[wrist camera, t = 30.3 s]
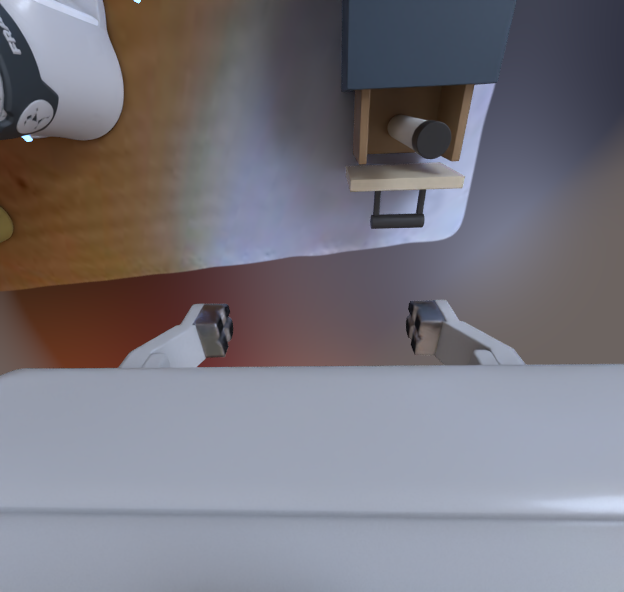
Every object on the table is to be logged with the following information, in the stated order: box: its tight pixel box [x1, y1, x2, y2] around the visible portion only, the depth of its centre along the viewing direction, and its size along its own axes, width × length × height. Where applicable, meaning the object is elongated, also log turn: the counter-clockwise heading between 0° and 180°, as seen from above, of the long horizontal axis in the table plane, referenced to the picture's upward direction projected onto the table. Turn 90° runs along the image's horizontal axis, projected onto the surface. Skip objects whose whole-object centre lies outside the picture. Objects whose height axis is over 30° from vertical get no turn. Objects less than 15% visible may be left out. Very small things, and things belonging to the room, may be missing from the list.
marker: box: [388, 115, 451, 159], centre depth 29 cm, size 3×3×14 cm
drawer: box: [346, 84, 474, 229], centre depth 33 cm, size 19×12×8 cm, turn 2°
